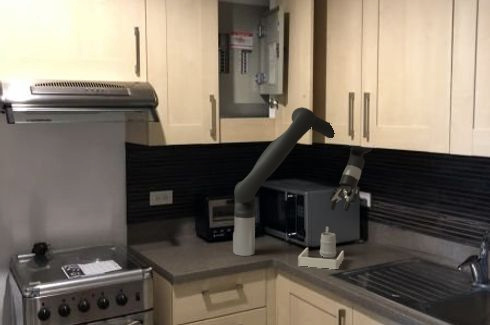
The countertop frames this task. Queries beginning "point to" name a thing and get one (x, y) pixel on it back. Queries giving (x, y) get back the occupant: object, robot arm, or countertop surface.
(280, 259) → the countertop surface
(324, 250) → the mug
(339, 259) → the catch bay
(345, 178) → the robot arm
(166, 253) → the countertop surface
